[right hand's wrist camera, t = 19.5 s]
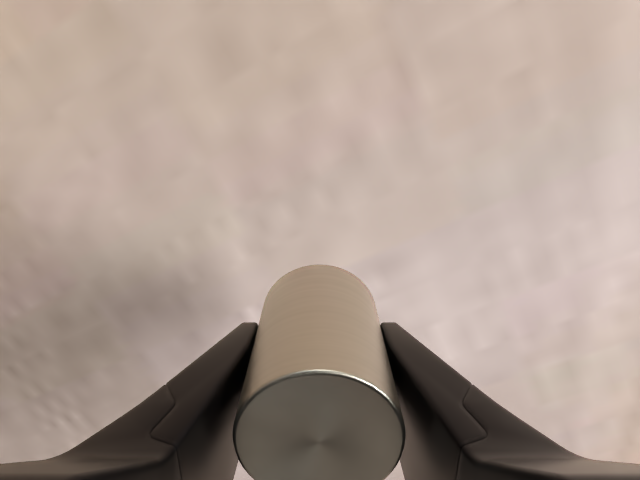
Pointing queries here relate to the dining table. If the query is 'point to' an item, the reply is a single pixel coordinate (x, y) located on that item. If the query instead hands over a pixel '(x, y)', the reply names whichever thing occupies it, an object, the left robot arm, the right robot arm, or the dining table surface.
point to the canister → (319, 384)
